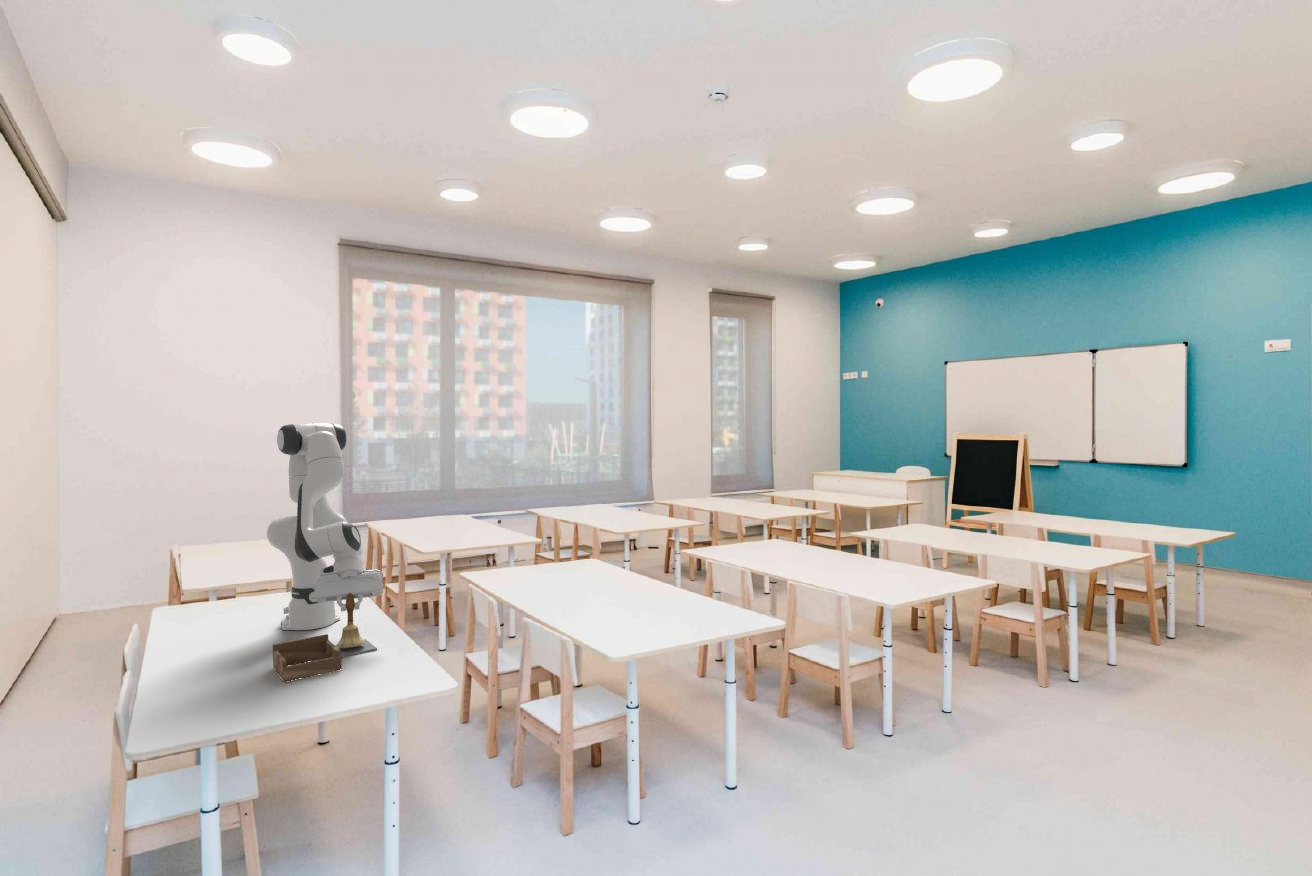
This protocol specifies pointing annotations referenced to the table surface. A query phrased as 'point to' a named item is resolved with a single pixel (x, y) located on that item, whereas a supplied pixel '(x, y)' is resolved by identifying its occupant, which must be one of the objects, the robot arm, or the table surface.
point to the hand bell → (350, 628)
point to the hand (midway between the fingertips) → (350, 609)
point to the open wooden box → (306, 657)
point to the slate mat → (357, 649)
